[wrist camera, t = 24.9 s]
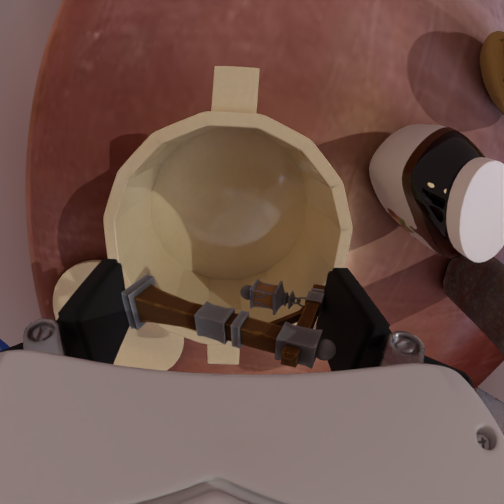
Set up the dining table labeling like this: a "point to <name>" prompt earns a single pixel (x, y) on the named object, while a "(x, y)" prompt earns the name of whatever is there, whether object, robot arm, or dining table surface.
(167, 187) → the pot
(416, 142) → the spread jar
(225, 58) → the dining table surface
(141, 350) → the lid
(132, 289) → the wooden beam with brackets
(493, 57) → the pot
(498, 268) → the candle
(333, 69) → the dining table surface
